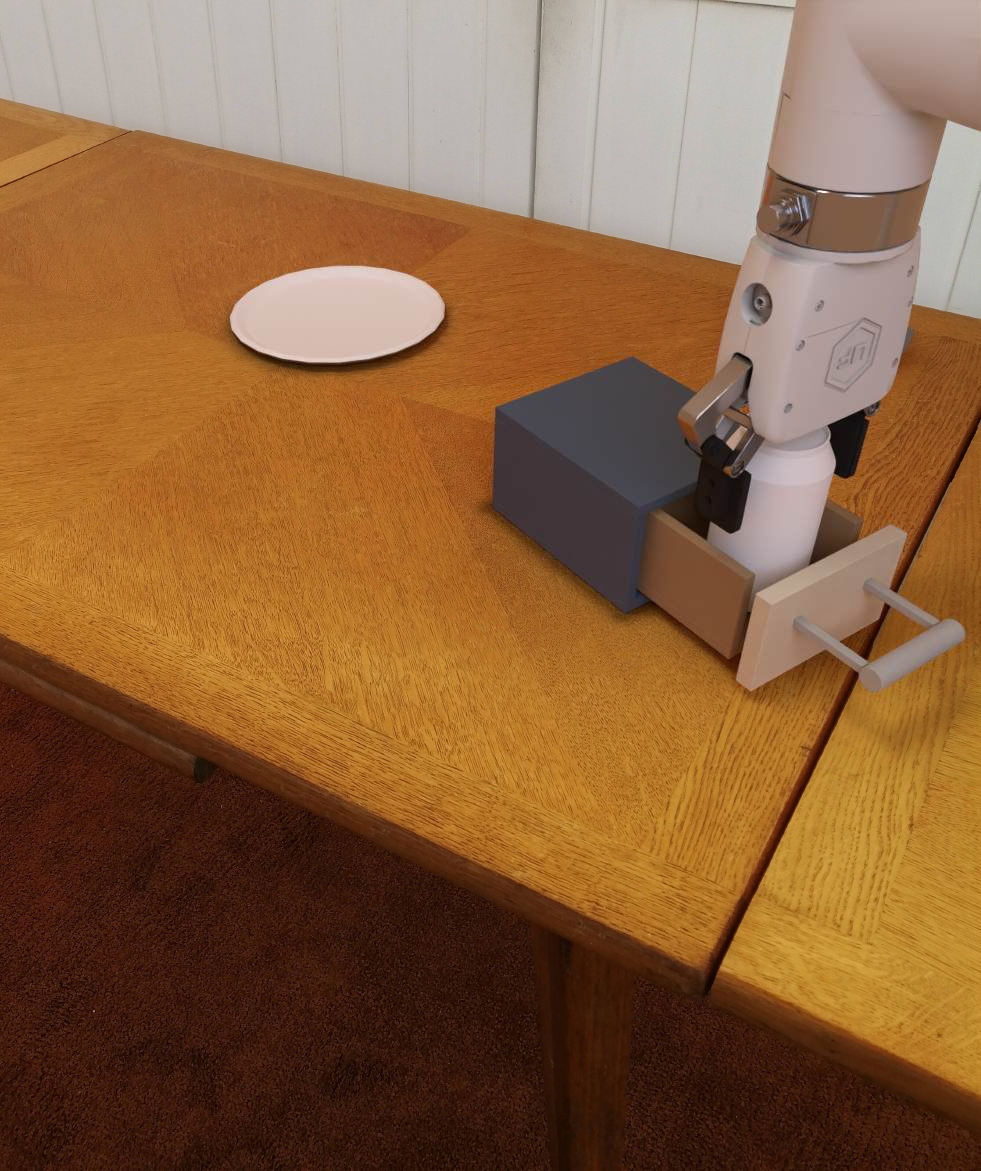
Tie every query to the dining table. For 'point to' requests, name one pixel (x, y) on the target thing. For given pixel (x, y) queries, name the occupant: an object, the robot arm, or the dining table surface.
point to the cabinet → (595, 469)
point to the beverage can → (780, 507)
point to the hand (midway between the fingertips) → (774, 493)
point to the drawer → (787, 597)
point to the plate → (337, 315)
